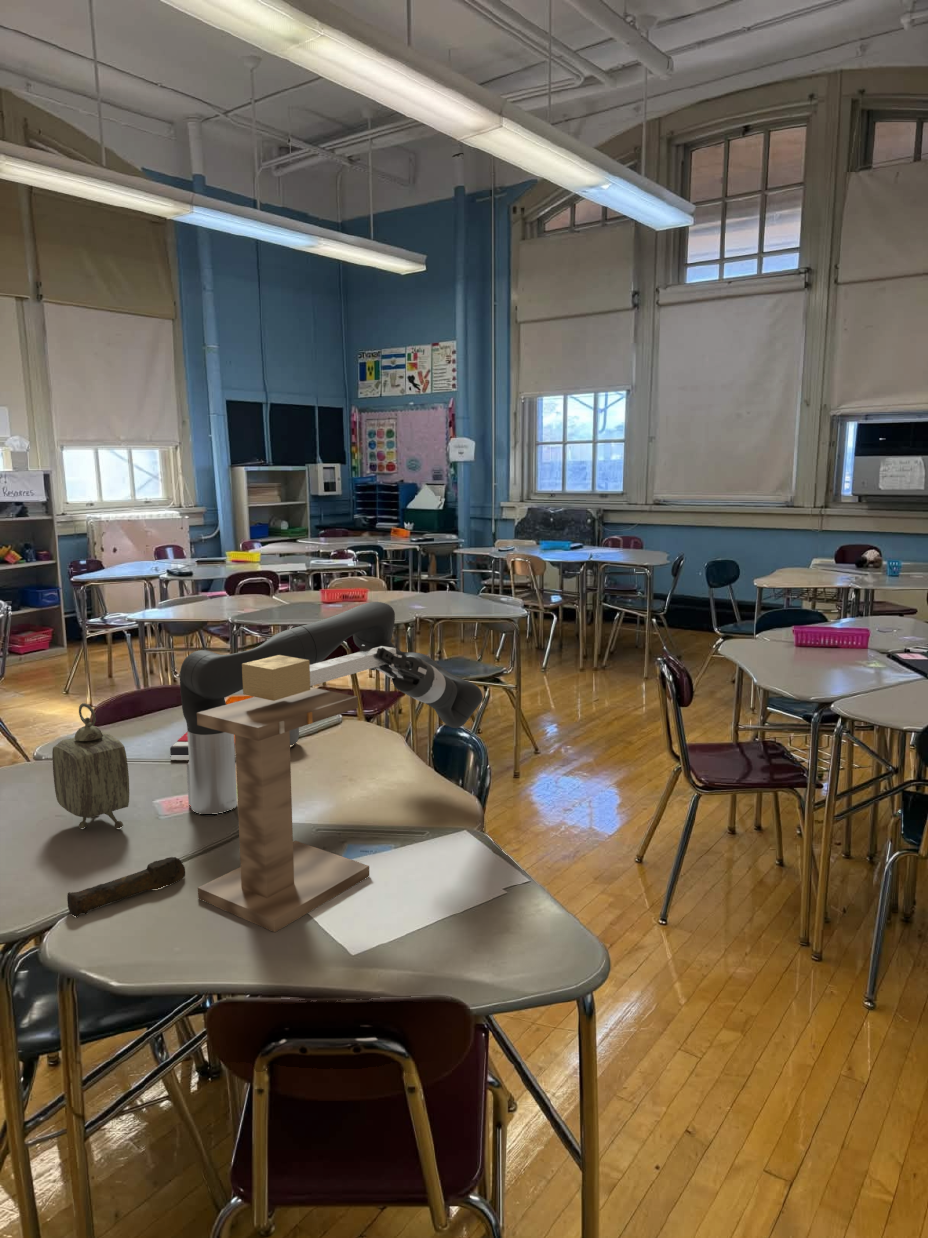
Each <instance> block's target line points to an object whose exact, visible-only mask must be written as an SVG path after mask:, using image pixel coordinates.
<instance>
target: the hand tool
mask: <svg viewBox="0 0 928 1238" xmlns="http://www.w3.org/2000/svg"><path fill="white" fill-rule="evenodd" d="M185 877H186V868H185V865H184V864H183V862H182V860H181V859H180V858H177V857H176V856H175V857H173V856H169V857H166V858H164V859H159V860H154V861H153V862H150V863H149V864H147V866H146V869H145V868H144V869H143V870H140V871H137V872H135V873H131V874H129V875H125V876H122V877H119V878H116V879H113V880H111V881H108V882H105V883H100V884H97V885H95V886H92V887H88V888H85V889H83V890H79V891H75V892H73V891H72V892H69V891H68V893H67V894H66V895H67V896H66V897H67V898H66V899H67V900H66V901H67V909H68V911H69V913H70V914H72V915H74V916H76V917H77V916H78V917H79V916H80V915H83V914H84V915H88V913H89V912H90V911H93V910H95V909H99V908H101V907H104V906H107V905H109V904H112V903H115V902H119V901H122V900H124V899H127V898H130V897H132V896H136V895H137V894H140V893H144V892H148V891H152V890H151V889H158V888H161V887H163V886H166V885H170V884H172V883H174V882H176V881H177V882H179V881H181V880H182V879H184V878H185ZM180 879H181V880H180ZM178 880H179V881H178ZM177 882H176V883H177ZM174 884H175V883H174ZM172 885H173V884H172ZM170 886H171V885H170ZM72 915H71V916H72ZM78 917H77V918H78Z"/></svg>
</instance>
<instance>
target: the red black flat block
mask: <svg viewBox="0 0 928 1238" xmlns="http://www.w3.org/2000/svg"><path fill="white" fill-rule="evenodd" d="M169 749H170V751H169V752H170V755H189V751H188V733H187V731H186V732H185V733H184V734H182V736H181V737H179V738H178V739H177V741H176V742H175V743H174V744H173V745H172V746H170V747H169ZM170 755H169V756H170Z"/></svg>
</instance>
